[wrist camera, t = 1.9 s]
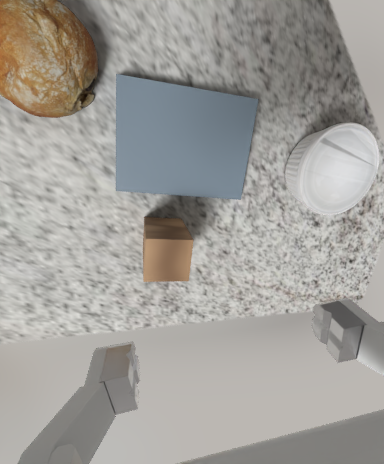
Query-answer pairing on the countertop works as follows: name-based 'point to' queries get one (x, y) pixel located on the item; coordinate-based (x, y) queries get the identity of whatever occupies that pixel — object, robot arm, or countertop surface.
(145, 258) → the walnut block
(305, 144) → the ramekin
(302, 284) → the countertop surface
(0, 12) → the bread roll
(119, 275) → the countertop surface
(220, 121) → the slate board
